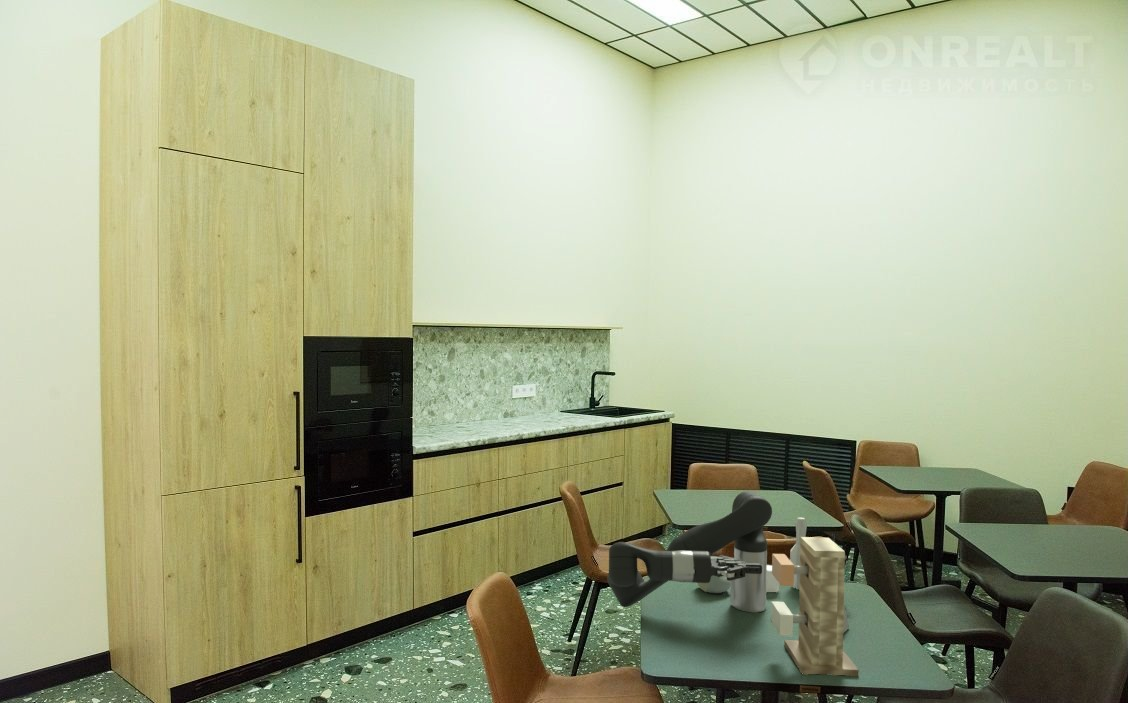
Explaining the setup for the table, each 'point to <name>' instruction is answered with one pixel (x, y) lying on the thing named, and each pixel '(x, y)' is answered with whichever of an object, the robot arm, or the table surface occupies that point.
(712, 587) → the air freshener
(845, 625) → the electrical switch
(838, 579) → the knob post
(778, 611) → the lower knob
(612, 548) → the robot arm
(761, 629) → the table surface
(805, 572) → the orange block
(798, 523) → the low poly bottle
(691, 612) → the table surface
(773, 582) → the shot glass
